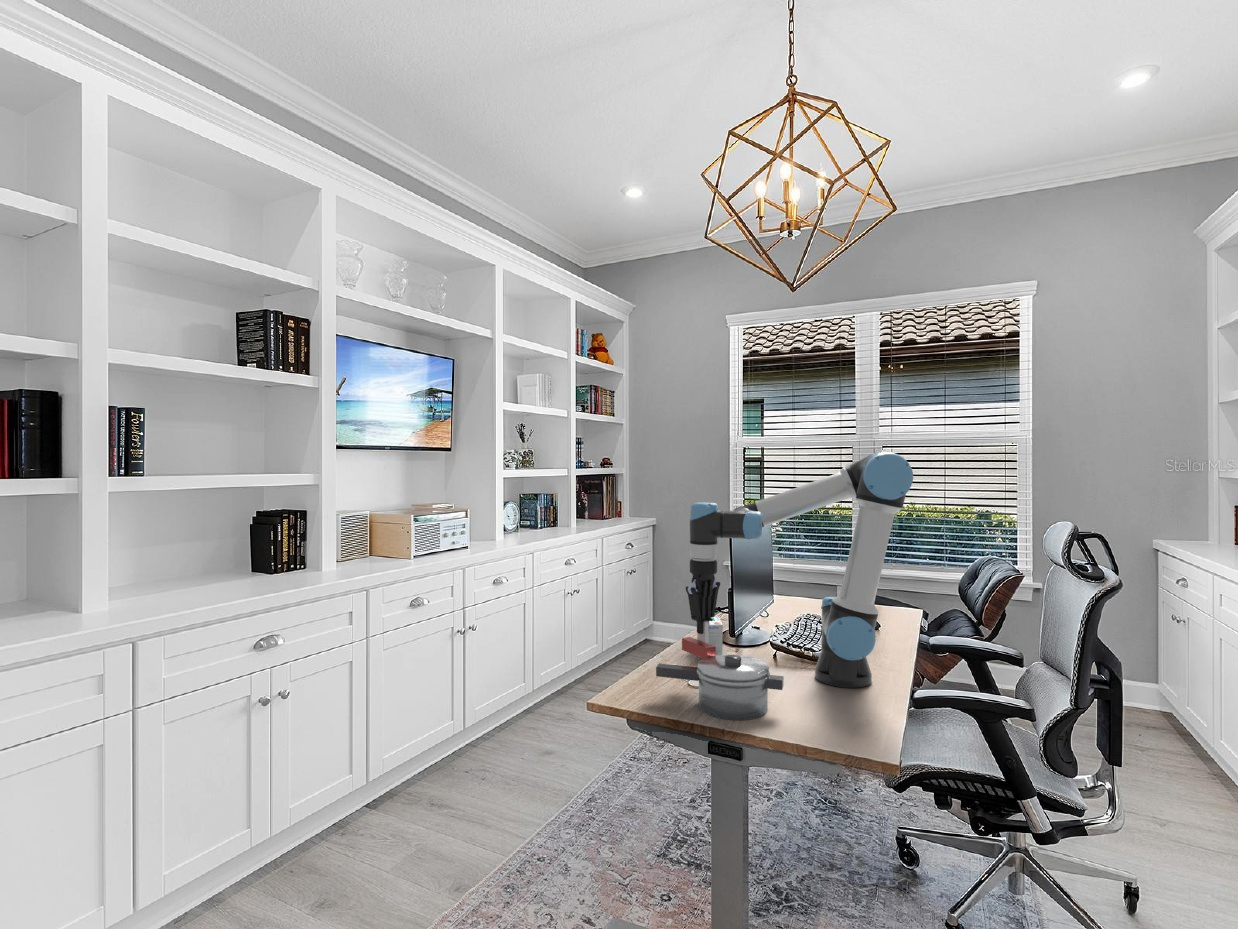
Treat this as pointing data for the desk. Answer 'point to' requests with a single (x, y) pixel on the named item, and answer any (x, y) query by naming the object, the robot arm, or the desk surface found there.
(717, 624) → the light bulb box
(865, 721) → the desk surface
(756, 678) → the lid
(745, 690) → the cooker pot
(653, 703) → the desk surface
